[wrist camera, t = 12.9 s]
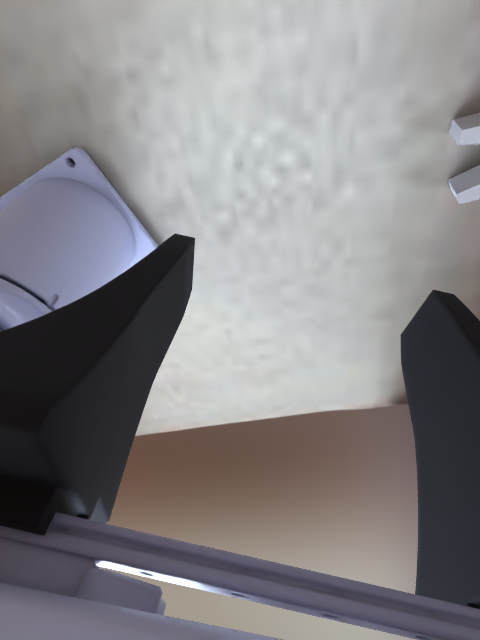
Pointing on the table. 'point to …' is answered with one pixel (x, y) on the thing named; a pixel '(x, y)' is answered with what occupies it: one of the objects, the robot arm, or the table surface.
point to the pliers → (475, 180)
